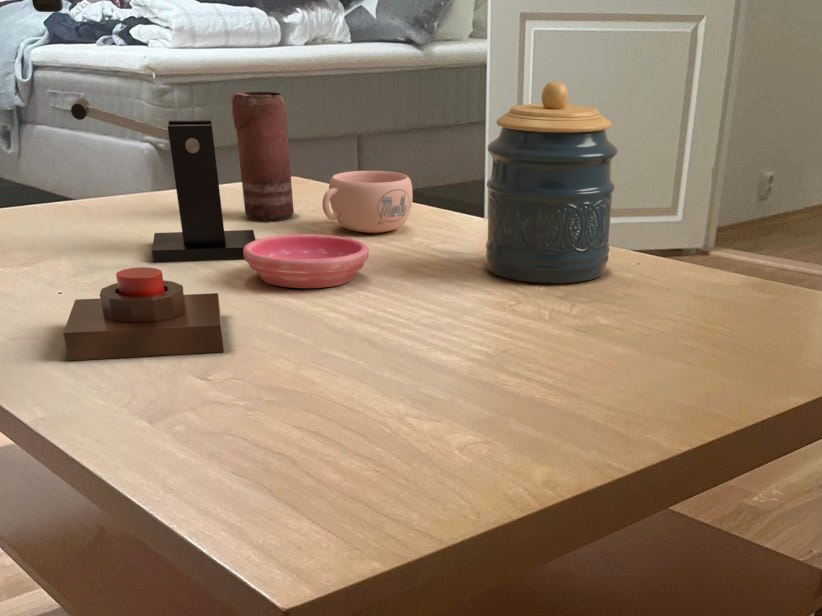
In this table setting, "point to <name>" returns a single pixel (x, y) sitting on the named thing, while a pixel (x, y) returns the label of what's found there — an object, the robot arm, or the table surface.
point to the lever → (117, 119)
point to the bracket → (197, 201)
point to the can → (263, 155)
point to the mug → (369, 200)
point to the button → (140, 282)
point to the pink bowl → (306, 260)
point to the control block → (144, 324)
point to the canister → (550, 192)
